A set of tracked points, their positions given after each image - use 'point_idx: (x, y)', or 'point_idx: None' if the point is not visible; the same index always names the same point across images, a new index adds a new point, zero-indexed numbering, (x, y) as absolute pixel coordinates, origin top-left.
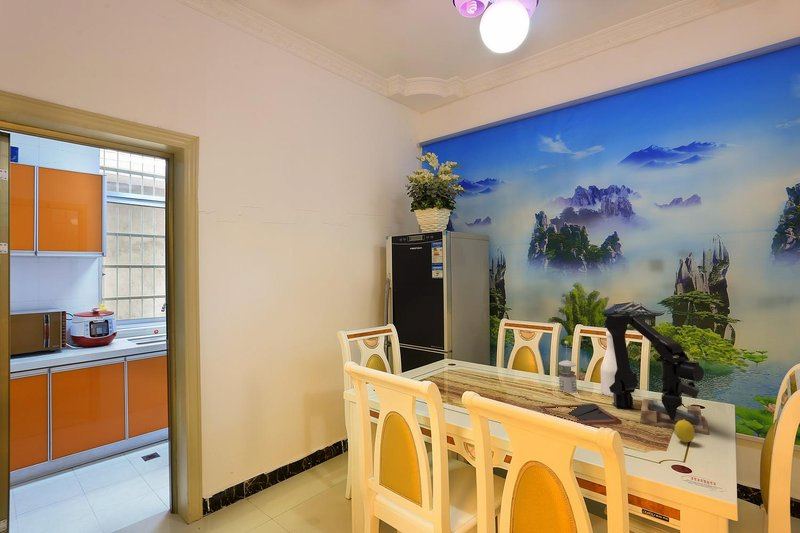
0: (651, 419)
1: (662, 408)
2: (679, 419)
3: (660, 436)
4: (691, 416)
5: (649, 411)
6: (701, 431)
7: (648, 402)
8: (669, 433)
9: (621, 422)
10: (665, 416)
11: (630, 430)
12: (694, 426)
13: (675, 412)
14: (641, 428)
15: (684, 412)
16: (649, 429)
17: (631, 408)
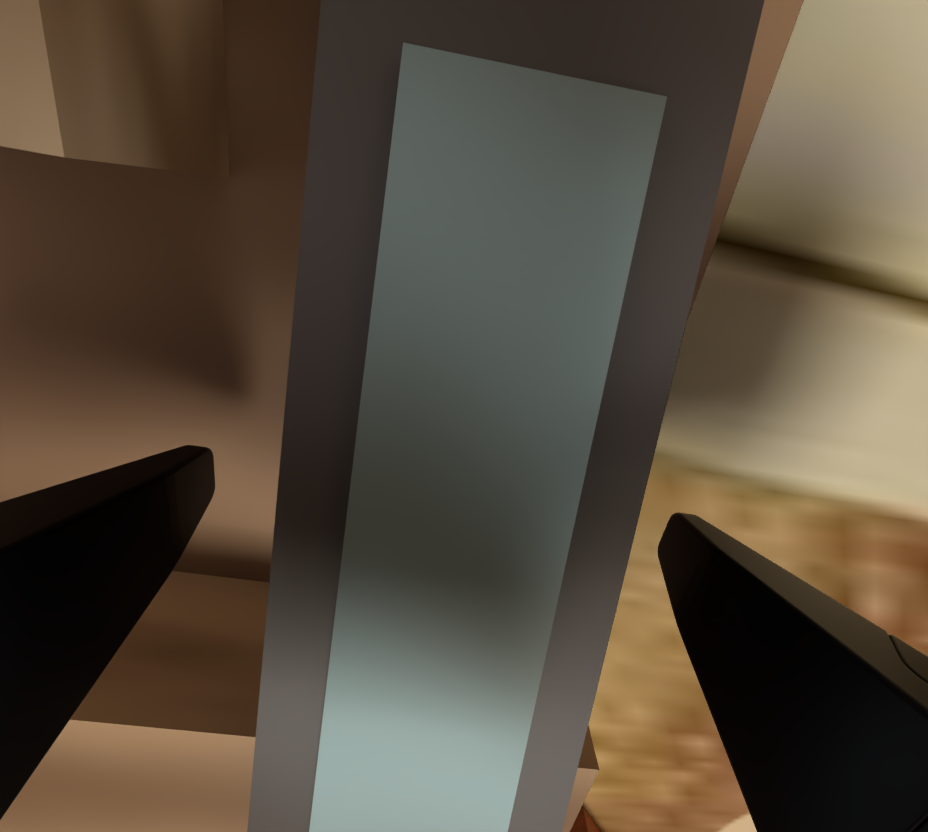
0: None
1: (569, 786)
2: (265, 327)
3: (884, 597)
4: (648, 181)
5: (567, 825)
6: (776, 56)
7: (51, 800)
8: (787, 509)
9: (585, 820)
10: (224, 496)
11: None
12: None
13: (889, 644)
14: (672, 706)
15: (485, 339)
16: (687, 656)
17: None
